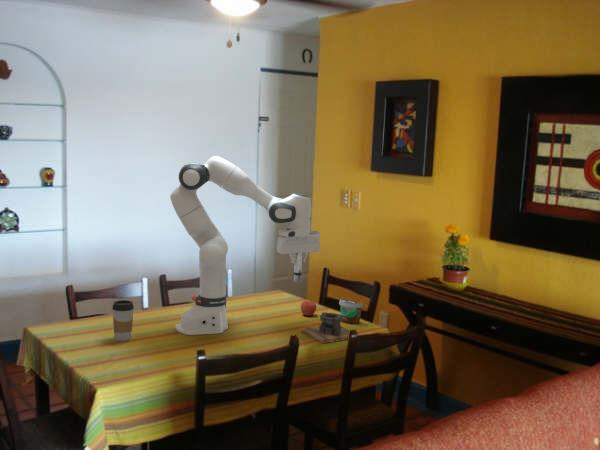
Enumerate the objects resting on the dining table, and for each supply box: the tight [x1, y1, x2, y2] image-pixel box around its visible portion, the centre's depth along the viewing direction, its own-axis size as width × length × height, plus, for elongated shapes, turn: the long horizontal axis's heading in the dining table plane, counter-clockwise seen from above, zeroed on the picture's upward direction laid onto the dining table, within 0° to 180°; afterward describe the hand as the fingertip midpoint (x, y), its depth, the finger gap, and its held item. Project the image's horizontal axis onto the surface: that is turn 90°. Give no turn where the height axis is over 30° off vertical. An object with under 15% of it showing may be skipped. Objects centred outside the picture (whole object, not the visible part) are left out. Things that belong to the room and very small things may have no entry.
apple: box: [300, 300, 317, 317], centre depth 322 cm, size 7×7×8 cm
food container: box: [338, 297, 364, 325], centre depth 315 cm, size 12×6×10 cm, turn 47°
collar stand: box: [301, 311, 351, 344], centre depth 294 cm, size 18×16×8 cm
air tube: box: [293, 253, 303, 283], centre depth 297 cm, size 3×3×16 cm
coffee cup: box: [111, 299, 135, 342], centre depth 275 cm, size 8×8×15 cm
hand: (298, 263), depth 297 cm, fingers closed on air tube, 3 cm apart
